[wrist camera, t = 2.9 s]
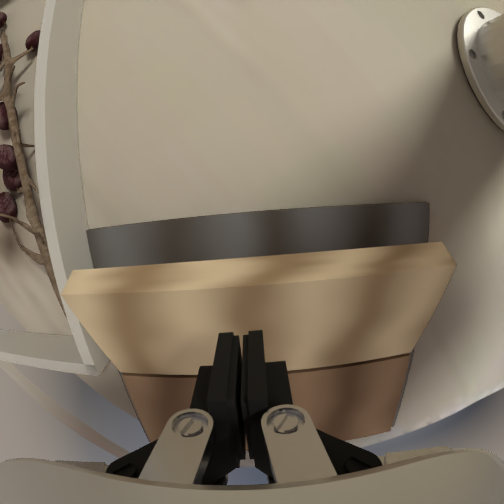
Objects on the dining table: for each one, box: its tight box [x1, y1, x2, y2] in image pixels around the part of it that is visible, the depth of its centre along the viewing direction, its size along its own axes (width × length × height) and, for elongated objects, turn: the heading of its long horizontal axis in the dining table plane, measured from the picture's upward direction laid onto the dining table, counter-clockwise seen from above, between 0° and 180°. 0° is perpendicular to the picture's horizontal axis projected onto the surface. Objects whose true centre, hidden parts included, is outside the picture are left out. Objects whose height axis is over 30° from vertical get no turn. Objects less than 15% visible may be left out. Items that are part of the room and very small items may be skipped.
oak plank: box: [61, 242, 457, 375], centre depth 18 cm, size 22×9×2 cm, turn 95°
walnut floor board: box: [86, 202, 429, 450], centre depth 21 cm, size 25×22×2 cm
